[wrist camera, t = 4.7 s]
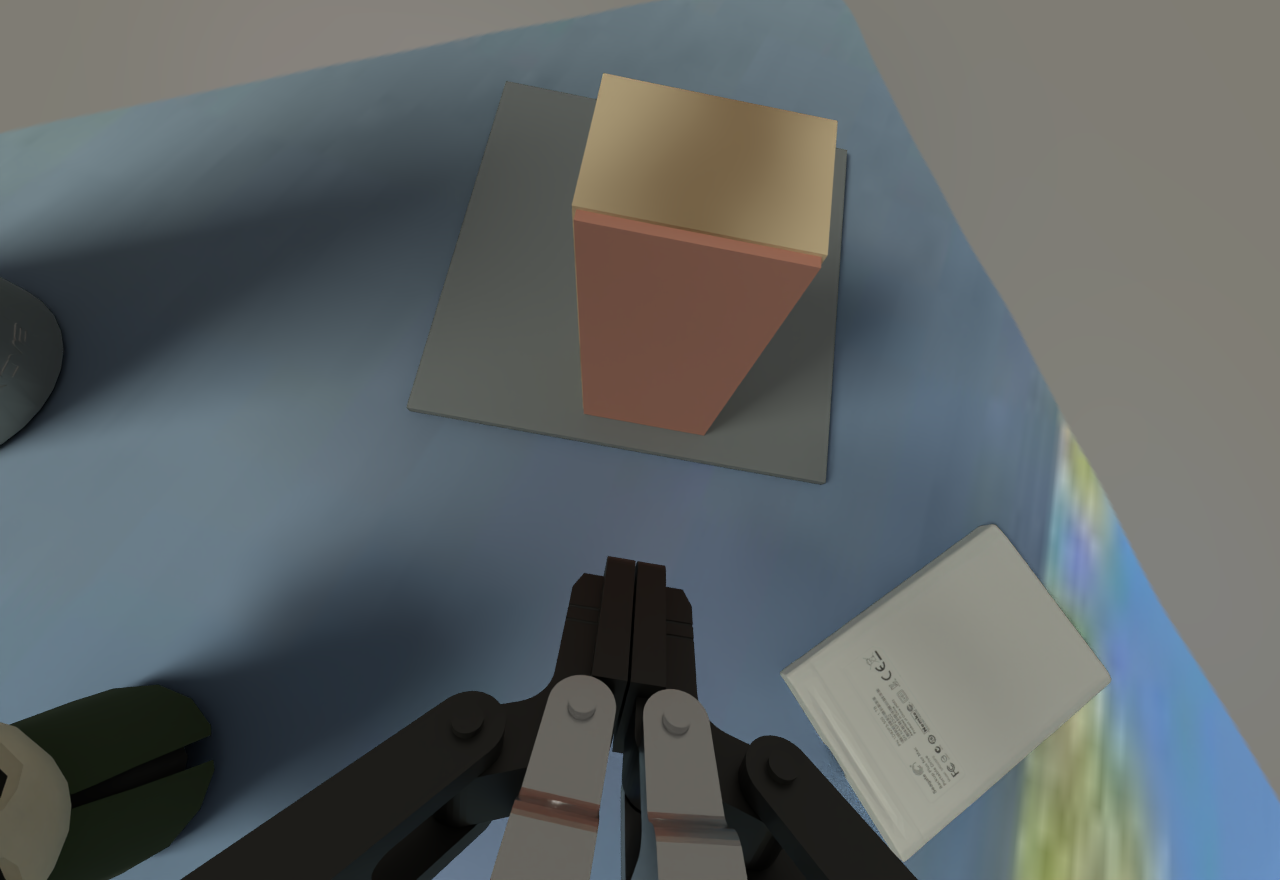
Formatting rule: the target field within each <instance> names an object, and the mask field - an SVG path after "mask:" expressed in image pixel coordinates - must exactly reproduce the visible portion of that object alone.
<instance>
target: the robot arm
mask: <svg viewBox="0 0 1280 880" xmlns="http://www.w3.org/2000/svg"><path fill="white" fill-rule="evenodd" d="M62 357H63V343H62V335H61V330H60V328H59V326H58V324H57V321H56V319H55V317H54V315H53V314H52V313H51V311H50V310H49V309H48V308H47V307H46V305H45V304H44V303H43V302H42V301H40V300H39V299H38V298H36V297H35V296H33V295H32V294H30V293H29V292H28V291H26V290H24V289H22V288H20V287H18V286H16V285H15V284H13V283H11V282H9V281H7V280H5V279H3V278H1V277H0V445H1V444H2V443H4V442H5V441H6V440H8V439H9V438H10V437H12V436H13V435H14V434H15V433H17V432H18V431H19V430H21V429H22V428H23V427H24V426H25V425H26V424H27V423H28V422H29V421H30V420H31V419H32V418H33V417H34V415H35V414H36V413H37V412H38V411H39V410H40V409H41V408H42V406H43V404H44V403H45V401H46V400H47V398H48V397H49V395H50V394H51V392H52V390H53V388H54V386H55V383H56V381H57V378H58V376H59V373H60V370H61V365H62ZM692 624H693V621H692V606H691V604H690V602H689V601H688V599H687V597H686V595H685V593H684V591H683V590H681V589H675V588H669V587H666V567H665V566H663V565H657V564H651V563H645V562H639V561H637V563H636V567H635V561H634V560H628V559H622V558H617V557H611V556H608V557H607V562H606V567H605V572H604V576H598V575H592V574H586V573H584V574H583V575H582V576H581V577H580V578H579V580H578V581H577V582H576V583H575V584H574V586H573V587H572V592H571V597H570V602H569V607H568V611H567V616H566V621H565V625H564V630H563V635H562V640H561V644H560V649H559V654H558V659H557V663H556V668H555V672H554V676H553V678H552V680H551V682H550V683H549V684H548V686H547V687H546V688H545V689H544V690H543V691H542V692H540V693H539V694H537V695H536V696H534V697H532V698H529V699H527V700H523V701H519V702H512V703H506V704H500V703H499V702H498V701H497V700H496V699H495V698H494V697H492V696H490V695H488V694H486V693H483V692H478V691H468V692H462V693H458V694H456V695H453V696H451V697H450V698H448V699H446V700H445V701H443V702H442V703H440V704H439V705H437V706H436V707H434V708H433V709H431V710H430V711H428V712H427V713H425V714H424V715H423V716H421V717H420V718H418V719H417V720H415V721H414V722H412V723H411V724H409V725H408V726H406V727H405V728H403V729H402V730H400V731H399V732H397V733H396V734H395V735H393V736H392V737H390V738H389V739H387V740H386V741H384V742H383V743H381V744H380V745H378V746H377V747H375V748H374V749H372V750H371V751H369V752H368V753H367V754H365V755H364V756H362V757H361V758H359V759H358V760H356V761H355V762H353V763H352V764H350V765H349V766H347V767H346V768H344V769H343V770H341V771H340V772H338V773H337V774H336V775H334V776H333V777H331V778H330V779H328V780H327V781H325V782H324V783H322V784H321V785H319V786H318V787H316V788H315V789H313V790H312V791H310V792H309V793H308V794H306V795H305V796H303V797H302V798H300V799H299V800H297V801H296V802H294V803H293V804H291V805H290V806H288V807H287V808H285V809H284V810H282V811H281V812H279V813H278V814H277V815H275V816H274V817H272V818H271V819H269V820H268V821H266V822H265V823H263V824H262V825H260V826H259V827H257V828H256V829H254V830H253V831H251V832H250V833H249V834H247V835H246V836H244V837H243V838H241V839H240V840H238V841H237V842H235V843H234V844H232V845H231V846H229V847H228V848H226V849H225V850H223V851H222V852H221V853H219V854H218V855H216V856H215V857H213V858H212V859H210V860H209V861H207V862H206V863H204V864H203V865H201V866H200V867H198V868H197V869H195V870H194V871H192V872H191V873H190V874H188V875H187V876H185V877H184V878H182V879H181V880H432V879H433V878H434V877H435V876H436V875H437V874H438V873H439V872H440V871H441V870H442V869H443V868H445V867H446V866H447V865H448V864H449V863H450V862H451V861H452V860H453V859H454V858H455V857H456V856H457V855H459V854H460V853H461V852H462V851H463V850H464V849H465V848H466V847H467V846H468V845H469V844H470V843H471V842H473V841H474V840H475V839H476V838H477V837H478V836H479V835H480V834H481V833H482V832H483V831H484V830H485V829H486V828H487V827H488V826H489V824H490V823H491V821H492V820H496V819H500V818H505V817H509V819H508V823H507V826H506V829H505V833H504V836H503V839H502V842H501V846H500V849H499V852H498V855H497V859H496V862H495V865H494V869H493V872H492V875H491V878H490V880H590V874H591V868H592V862H593V856H594V850H595V844H596V838H597V831H598V824H599V809H600V802H601V796H602V790H603V784H604V778H605V773H606V767H607V761H608V755H609V750H610V747H611V743H612V739H613V750H612V752H618V753H623V766H622V786H621V880H917V878H916V877H915V876H914V875H913V874H912V873H911V872H910V871H909V870H908V868H907V867H906V866H905V865H904V864H903V863H902V862H901V861H900V860H899V858H898V857H897V856H896V855H895V854H894V853H893V852H892V851H891V850H890V848H889V847H888V846H887V845H886V844H885V843H884V842H883V841H882V840H881V838H880V837H879V836H878V835H877V834H876V833H875V832H874V831H873V830H872V828H871V827H870V826H869V825H868V824H867V823H866V822H865V821H864V820H863V818H862V817H861V816H860V815H859V814H858V813H857V812H856V811H855V810H854V808H853V807H852V806H851V805H850V804H849V803H848V802H847V801H846V800H845V798H844V797H843V796H842V795H841V794H840V793H839V792H838V791H837V790H836V788H835V787H834V786H833V785H832V784H831V783H830V782H829V781H828V780H827V778H826V777H825V776H824V775H823V774H822V773H821V772H820V771H819V770H818V768H817V767H816V766H815V765H814V764H813V763H812V762H811V761H810V760H809V758H808V757H807V756H806V755H805V754H804V753H803V752H802V751H801V750H800V749H799V748H798V747H797V746H796V745H794V744H793V743H791V742H790V741H788V740H786V739H784V738H781V737H777V736H771V735H769V736H762V737H759V738H757V739H755V740H754V741H753V742H752V743H751V744H750V745H749V744H747V743H745V742H743V741H741V740H739V739H737V738H735V737H733V736H731V735H729V734H727V733H725V732H723V731H721V730H720V729H719V728H717V727H716V726H715V725H714V724H713V723H711V722H710V720H709V718H708V715H707V713H706V711H705V709H704V707H703V706H702V705H701V703H700V702H699V701H698V697H697V685H696V669H695V653H694V642H693V638H694V637H693V627H692ZM613 735H614V738H613Z"/></svg>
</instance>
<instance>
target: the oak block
mask: <svg viewBox="0 0 1280 880" xmlns="http://www.w3.org/2000/svg"><path fill="white" fill-rule="evenodd" d="M836 135H837V121H835V120H831V119H826V118H821V117H816V116H811V115H806V114H801V113H796V112H791V111H786V110H781V109H777V108H772V107H767V106H762V105H757V104H752V103H747V102H742V101H737V100H732V99H727V98H723V97H718V96H713V95H708V94H703V93H698V92H693V91H688V90H683V89H678V88H674V87H669V86H664V85H659V84H654V83H649V82H644V81H639V80H634V79H629V78H624V77H620V76H615V75H610V74H605V73H603V76H602V81H601V85H600V89H599V93H598V97H597V102H596V106H595V110H594V114H593V118H592V122H591V127H590V131H589V135H588V139H587V143H586V148H585V152H584V156H583V160H582V164H581V168H580V173H579V177H578V181H577V185H576V189H575V194H574V198H573V202H572V220H573V238H574V256H575V274H576V292H577V310H578V328H579V346H580V364H581V382H582V400H583V408H584V414H587V415H593V416H598V417H604V418H609V419H615V420H620V421H626V422H631V423H637V424H642V425H648V426H653V427H659V428H664V429H670V430H675V431H681V432H686V433H692V434H697V435H703V436H704V435H705V433H706V432H707V430H708V429H709V428H710V426H711V425H712V423H713V422H714V420H715V419H716V417H717V416H718V415H719V413H720V412H721V410H722V409H723V407H724V406H725V405H726V403H727V402H728V400H729V399H730V397H731V396H732V395H733V393H734V392H735V390H736V389H737V387H738V386H739V385H740V383H741V382H742V380H743V379H744V377H745V376H746V375H747V373H748V372H749V370H750V369H751V367H752V366H753V365H754V363H755V362H756V360H757V359H758V357H759V356H760V355H761V353H762V352H763V350H764V349H765V347H766V346H767V344H768V343H769V342H770V340H771V339H772V337H773V336H774V334H775V333H776V332H777V330H778V329H779V327H780V326H781V324H782V323H783V322H784V320H785V319H786V317H787V316H788V314H789V313H790V312H791V310H792V309H793V307H794V306H795V304H796V303H797V302H798V300H799V299H800V297H801V296H802V294H803V293H804V292H805V290H806V289H807V287H808V286H809V284H810V283H811V282H812V280H813V279H814V277H815V276H816V274H817V273H818V271H819V270H820V269H821V264H822V263H823V261H824V260H825V258H826V257H827V256H828V245H829V231H830V217H831V203H832V190H833V176H834V162H835V148H836Z"/></svg>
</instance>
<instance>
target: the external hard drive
mask: <svg viewBox="0 0 1280 880" xmlns="http://www.w3.org/2000/svg"><path fill="white" fill-rule="evenodd" d="M780 674H781V676H782V678H783V679H784V681H785V682H786V684H787V685H788V687H789V688H790V690H791V692H792V693H793V695H794V696H795V698H796V700H797V701H798V703H799V704H800V706H801V708H802V709H803V711H804V712H805V714H806V716H807V717H808V719H809V720H810V722H811V724H812V725H813V727H814V728H815V730H816V731H817V733H818V735H819V736H820V738H821V739H822V741H823V742H824V744H826V745H827V746H828V748H829V749H830V750H831V752H832V753H833V755H834V757H835V758H836V760H837V761H838V763H839V765H840V766H841V768H842V770H843V771H844V773H845V778H846V779H847V781H848V782H849V784H850V786H851V787H852V789H853V790H854V792H855V794H856V795H857V797H858V798H859V800H860V802H861V803H862V805H863V806H864V808H865V810H866V811H867V813H868V814H869V816H870V818H871V819H872V821H873V822H874V824H875V826H876V827H877V829H878V830H879V832H880V833H881V835H882V837H883V838H884V840H885V841H886V843H887V845H888V846H889V848H890V849H891V851H892V852H893V853H894V854H895V855H896V856H897V857H898V858H899V859H901V860H902V861H903V862H905V861H906V860H908V859H909V858H910V857H911V856H912V855H913V854H915V853H916V852H917V851H918V850H919V849H920V848H921V847H922V846H924V845H925V844H926V843H927V842H928V841H929V840H930V839H931V838H933V837H934V836H935V835H936V834H937V833H938V832H940V831H941V830H942V829H943V828H944V827H945V826H947V825H948V824H949V823H950V822H951V821H952V820H953V819H955V818H956V817H957V816H958V815H959V814H961V813H962V812H963V811H964V810H965V809H966V808H967V807H969V806H970V805H971V804H972V803H973V802H975V801H976V800H977V799H978V798H979V797H980V796H981V795H983V794H984V793H985V792H986V791H987V790H988V789H989V788H991V787H992V786H993V785H994V784H995V783H996V782H997V781H999V780H1000V779H1001V778H1002V777H1003V776H1004V775H1005V774H1007V773H1008V772H1009V771H1010V770H1011V769H1012V768H1013V767H1014V766H1016V765H1017V764H1018V763H1019V762H1020V761H1021V760H1023V759H1024V758H1025V757H1026V756H1027V755H1028V754H1029V753H1031V752H1032V751H1033V750H1034V749H1035V748H1036V747H1038V746H1039V745H1040V744H1041V743H1042V742H1043V741H1044V740H1046V739H1047V738H1048V737H1049V736H1050V735H1051V734H1052V733H1054V732H1055V731H1056V730H1057V729H1058V728H1059V727H1061V726H1062V725H1063V724H1064V723H1065V722H1066V721H1067V720H1068V719H1070V718H1071V717H1072V716H1073V715H1074V714H1075V713H1076V712H1078V711H1079V710H1080V709H1081V708H1082V707H1083V706H1084V705H1085V704H1086V703H1088V702H1089V701H1090V700H1091V699H1092V698H1093V697H1094V696H1096V695H1097V694H1098V693H1099V692H1100V691H1101V690H1102V689H1104V688H1105V687H1106V686H1107V685H1108V684H1109V683H1110V682H1111V677H1110V675H1109V673H1108V671H1107V670H1106V668H1105V667H1104V665H1103V664H1102V663H1101V662H1100V660H1099V659H1098V658H1097V656H1096V655H1095V654H1094V652H1093V651H1092V650H1091V648H1090V647H1089V646H1088V644H1087V643H1086V642H1085V640H1084V639H1083V638H1082V636H1081V635H1080V634H1079V632H1078V631H1077V630H1076V628H1075V627H1074V626H1073V625H1072V623H1071V622H1070V621H1069V619H1068V618H1067V617H1066V615H1065V614H1064V612H1063V611H1062V610H1061V609H1060V607H1059V606H1058V604H1057V603H1056V602H1055V601H1054V599H1053V598H1052V597H1051V595H1050V594H1049V593H1048V592H1047V590H1046V588H1045V587H1044V586H1043V584H1042V583H1041V582H1040V580H1039V579H1038V578H1037V576H1036V575H1035V574H1034V573H1033V571H1032V570H1031V569H1030V567H1029V566H1028V564H1027V563H1026V562H1025V561H1024V560H1023V558H1022V557H1021V555H1020V554H1019V553H1018V551H1017V550H1016V548H1015V547H1014V546H1013V545H1012V543H1011V542H1010V541H1009V539H1008V538H1007V537H1006V536H1005V535H1004V534H1003V532H1002V531H1001V530H1000V529H999V528H998V527H997V526H996V525H993V524H990V525H984V526H979V527H977V528H976V529H975V530H974V531H972V532H971V533H969V534H968V535H967V536H965V537H964V538H963V539H961V540H960V541H959V542H957V543H956V544H954V545H953V546H952V547H950V548H949V549H948V550H946V551H945V552H944V553H942V554H941V555H940V556H938V557H937V558H935V559H934V560H933V561H931V562H930V563H929V564H927V565H926V566H925V567H923V568H922V569H920V570H919V571H918V572H916V573H915V574H913V575H912V576H911V577H909V578H908V579H907V580H905V581H904V582H902V583H901V584H900V585H899V586H897V587H896V588H894V589H893V590H892V591H890V592H889V593H887V594H886V595H885V596H883V597H882V598H881V599H879V600H878V601H876V602H875V603H874V604H873V605H871V606H870V607H868V608H867V609H866V610H864V611H863V612H862V613H860V614H859V615H857V616H856V617H855V618H853V619H852V620H851V621H849V622H848V623H846V624H845V625H844V626H842V627H841V628H840V629H838V630H837V631H836V632H834V633H833V634H831V635H830V636H829V637H827V638H826V639H825V640H823V641H822V642H821V643H819V644H818V645H816V646H815V647H814V648H812V649H811V650H810V651H808V652H807V653H806V654H804V655H803V656H802V657H800V658H799V659H797V660H795V661H794V662H793V663H791V664H790V665H789V666H787V667H786V668H785V669H783V670H782V671H781V672H780Z"/></svg>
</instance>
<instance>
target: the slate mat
mask: <svg viewBox="0 0 1280 880" xmlns="http://www.w3.org/2000/svg"><path fill="white" fill-rule="evenodd" d="M596 102H597V99H592V98H587V97H582V96H577V95H572V94H567V93H562V92H557V91H552V90H547V89H542V88H537V87H533V86H528V85H523V84H518V83H513V82H508V81H506V83H505V86H504V90H503V93H502V96H501V100H500V103H499V106H498V109H497V113H496V116H495V119H494V122H493V126H492V129H491V132H490V136H489V139H488V142H487V145H486V149H485V152H484V155H483V158H482V162H481V165H480V168H479V172H478V175H477V178H476V181H475V185H474V188H473V191H472V194H471V198H470V201H469V204H468V208H467V211H466V214H465V217H464V221H463V224H462V227H461V230H460V234H459V237H458V240H457V244H456V247H455V250H454V253H453V257H452V260H451V263H450V266H449V270H448V273H447V276H446V280H445V283H444V286H443V289H442V293H441V296H440V299H439V302H438V306H437V309H436V312H435V316H434V319H433V322H432V325H431V329H430V332H429V335H428V339H427V342H426V345H425V348H424V352H423V355H422V358H421V361H420V365H419V368H418V371H417V375H416V378H415V381H414V384H413V388H412V391H411V394H410V397H409V401H408V404H407V408H408V409H409V410H410V411H413V412H419V413H424V414H430V415H436V416H441V417H447V418H452V419H458V420H463V421H469V422H475V423H480V424H486V425H491V426H497V427H502V428H508V429H514V430H519V431H525V432H530V433H536V434H541V435H547V436H552V437H558V438H564V439H569V440H575V441H580V442H586V443H591V444H597V445H603V446H608V447H614V448H619V449H625V450H630V451H636V452H642V453H647V454H653V455H658V456H664V457H669V458H675V459H681V460H686V461H692V462H697V463H703V464H708V465H714V466H720V467H725V468H731V469H736V470H742V471H747V472H753V473H759V474H764V475H770V476H775V477H781V478H786V479H792V480H798V481H803V482H809V483H814V484H820V485H822V484H824V483H826V469H827V454H828V438H829V423H830V407H831V392H832V376H833V361H834V345H835V330H836V314H837V299H838V284H839V268H840V253H841V237H842V222H843V206H844V191H845V175H846V160H847V150H844V149H839V148H835V162H834V176H833V190H832V203H831V217H830V231H829V245H828V256H827V257H826V258H825V260H824V261H823V263H822V264H821V269H820V270H819V271H818V273H817V274H816V276H815V277H814V279H813V280H812V282H811V283H810V284H809V286H808V287H807V289H806V290H805V292H804V293H803V294H802V296H801V297H800V299H799V300H798V302H797V303H796V304H795V306H794V307H793V309H792V310H791V312H790V313H789V314H788V316H787V317H786V319H785V320H784V322H783V323H782V324H781V326H780V327H779V329H778V330H777V332H776V333H775V334H774V336H773V337H772V339H771V340H770V342H769V343H768V344H767V346H766V347H765V349H764V350H763V352H762V353H761V355H760V356H759V357H758V359H757V360H756V362H755V363H754V365H753V366H752V367H751V369H750V370H749V372H748V373H747V375H746V376H745V377H744V379H743V380H742V382H741V383H740V385H739V386H738V387H737V389H736V390H735V392H734V393H733V395H732V396H731V397H730V399H729V400H728V402H727V403H726V405H725V406H724V407H723V409H722V410H721V412H720V413H719V415H718V416H717V417H716V419H715V420H714V422H713V423H712V425H711V426H710V428H709V429H708V430H707V432H706V433H705V435H704V436H703V435H697V434H692V433H686V432H681V431H675V430H670V429H664V428H659V427H653V426H648V425H642V424H637V423H631V422H626V421H620V420H615V419H609V418H604V417H598V416H593V415H587V414H584V408H583V400H582V382H581V364H580V346H579V328H578V310H577V292H576V274H575V256H574V238H573V220H572V202H573V198H574V194H575V189H576V185H577V181H578V177H579V173H580V168H581V164H582V160H583V156H584V152H585V148H586V143H587V139H588V135H589V131H590V127H591V122H592V118H593V114H594V110H595V106H596Z"/></svg>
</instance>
